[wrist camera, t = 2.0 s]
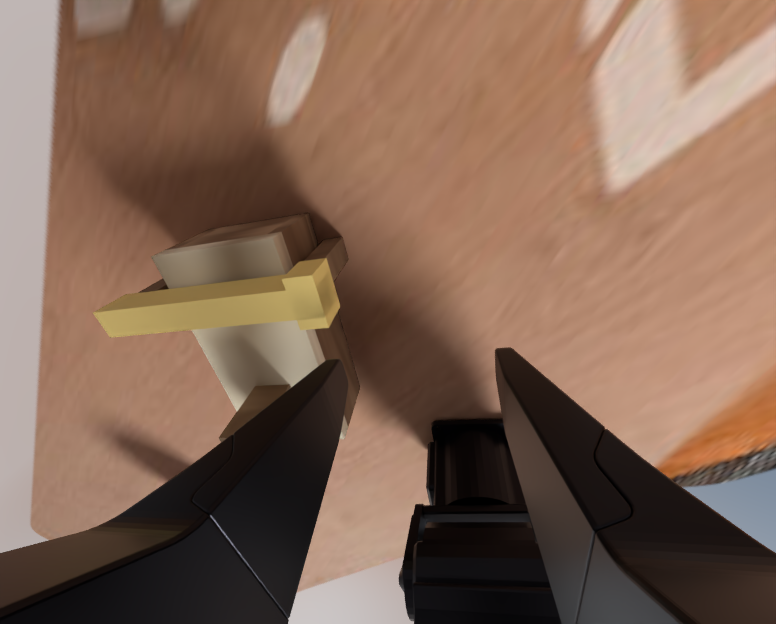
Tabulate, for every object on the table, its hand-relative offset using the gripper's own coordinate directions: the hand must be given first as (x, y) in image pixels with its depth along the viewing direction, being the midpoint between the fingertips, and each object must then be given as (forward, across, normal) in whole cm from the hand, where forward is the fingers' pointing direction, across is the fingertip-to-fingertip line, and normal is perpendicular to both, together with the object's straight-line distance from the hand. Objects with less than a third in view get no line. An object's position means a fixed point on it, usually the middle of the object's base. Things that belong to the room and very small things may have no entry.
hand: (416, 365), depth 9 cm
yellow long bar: (+7, +10, 0) cm, 12 cm away
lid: (+8, +10, +4) cm, 14 cm away
